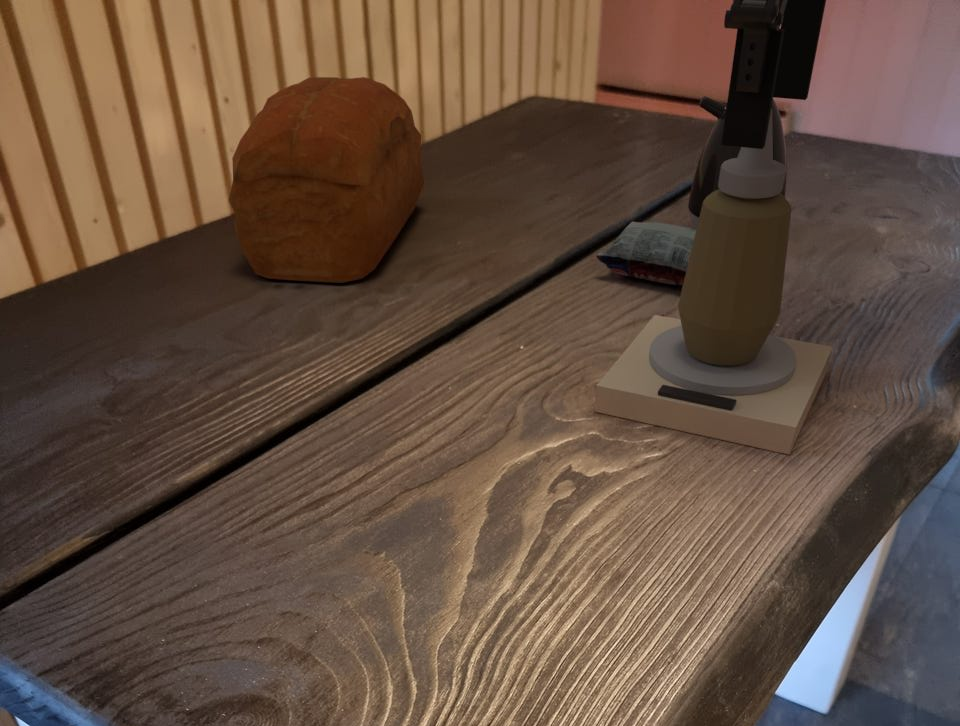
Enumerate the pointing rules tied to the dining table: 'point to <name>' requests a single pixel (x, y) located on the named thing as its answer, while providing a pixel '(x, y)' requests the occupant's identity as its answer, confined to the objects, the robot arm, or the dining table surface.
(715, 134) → the pump dispenser
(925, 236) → the dining table surface
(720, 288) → the squeeze bottle
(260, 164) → the bread
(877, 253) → the dining table surface
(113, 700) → the dining table surface
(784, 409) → the scale
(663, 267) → the packaged food
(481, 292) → the dining table surface
